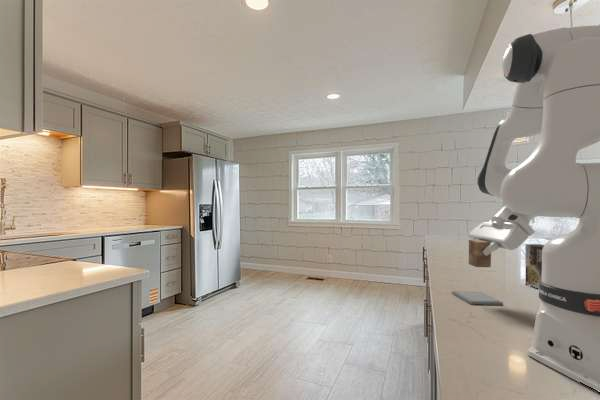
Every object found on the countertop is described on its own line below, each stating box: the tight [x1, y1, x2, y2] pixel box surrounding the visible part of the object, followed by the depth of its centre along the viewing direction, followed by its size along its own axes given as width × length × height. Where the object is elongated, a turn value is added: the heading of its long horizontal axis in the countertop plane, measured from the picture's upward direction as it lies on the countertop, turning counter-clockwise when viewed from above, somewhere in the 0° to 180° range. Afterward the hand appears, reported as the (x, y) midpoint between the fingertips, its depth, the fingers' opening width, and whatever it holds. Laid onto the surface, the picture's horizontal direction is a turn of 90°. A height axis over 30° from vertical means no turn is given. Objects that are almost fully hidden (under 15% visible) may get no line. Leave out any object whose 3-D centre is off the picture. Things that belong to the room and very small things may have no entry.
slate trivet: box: [451, 290, 504, 306], centre depth 96 cm, size 11×10×1 cm
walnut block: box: [468, 239, 492, 268], centre depth 97 cm, size 5×5×8 cm
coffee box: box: [524, 243, 545, 289], centre depth 111 cm, size 9×6×16 cm
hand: (477, 252), depth 96 cm, fingers closed on walnut block, 4 cm apart
